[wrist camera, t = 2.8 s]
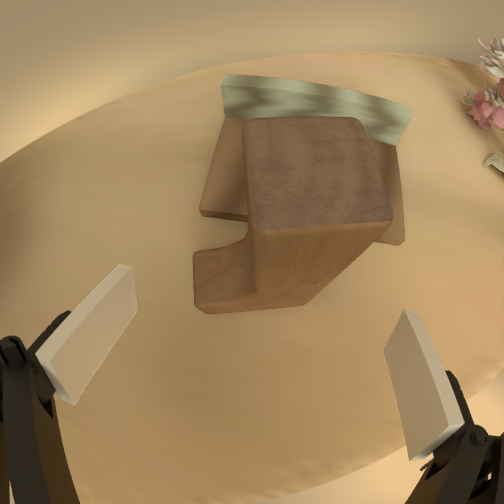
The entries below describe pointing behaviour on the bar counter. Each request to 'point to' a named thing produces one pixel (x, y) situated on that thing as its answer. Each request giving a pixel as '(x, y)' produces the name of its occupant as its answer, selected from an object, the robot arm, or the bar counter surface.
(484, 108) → the flower
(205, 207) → the walnut edge board
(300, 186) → the wooden block
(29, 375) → the robot arm
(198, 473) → the bar counter surface
